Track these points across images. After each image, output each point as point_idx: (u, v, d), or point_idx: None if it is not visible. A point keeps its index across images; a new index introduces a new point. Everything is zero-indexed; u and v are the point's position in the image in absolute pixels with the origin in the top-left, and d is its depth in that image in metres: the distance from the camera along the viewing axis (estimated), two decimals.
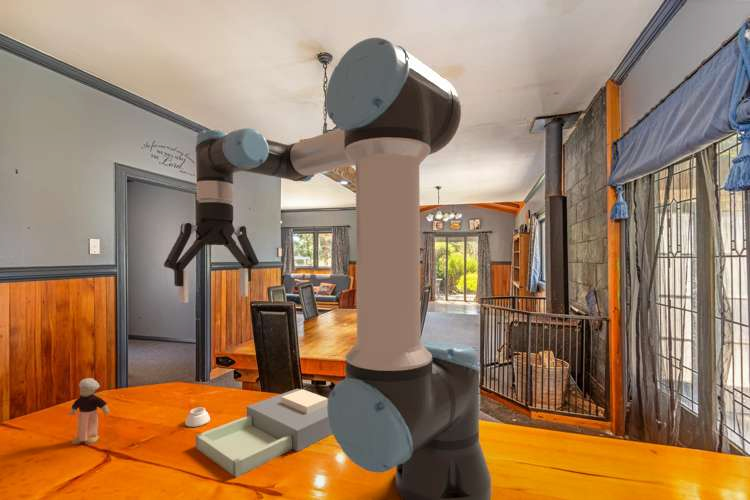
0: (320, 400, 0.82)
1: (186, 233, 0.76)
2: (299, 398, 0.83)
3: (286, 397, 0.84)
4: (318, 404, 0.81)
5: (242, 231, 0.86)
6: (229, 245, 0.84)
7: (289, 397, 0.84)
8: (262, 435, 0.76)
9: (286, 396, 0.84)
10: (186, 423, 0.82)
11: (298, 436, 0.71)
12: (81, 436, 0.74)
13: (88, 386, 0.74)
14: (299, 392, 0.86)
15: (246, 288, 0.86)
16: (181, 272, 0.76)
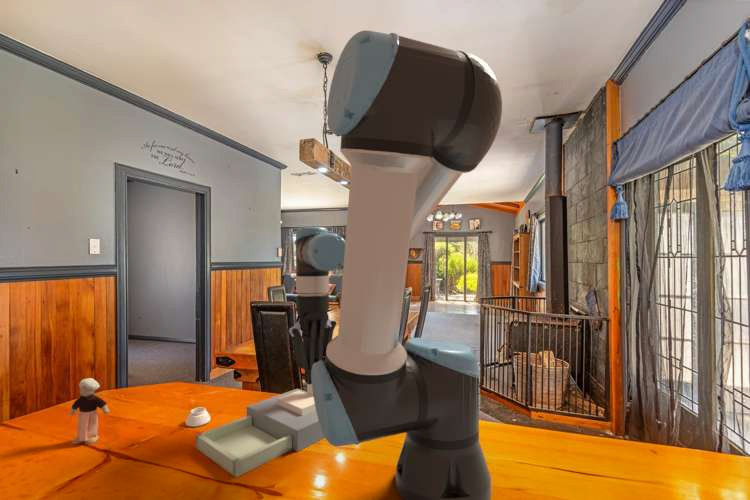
0: None
1: (298, 338, 0.81)
2: (295, 400, 0.82)
3: (282, 398, 0.83)
4: (313, 405, 0.80)
5: (332, 325, 0.89)
6: (316, 336, 0.86)
7: (285, 398, 0.83)
8: (262, 435, 0.76)
9: (282, 398, 0.83)
10: (186, 423, 0.82)
11: (298, 436, 0.71)
12: (81, 436, 0.74)
13: (88, 386, 0.74)
14: (295, 393, 0.86)
15: None
16: None
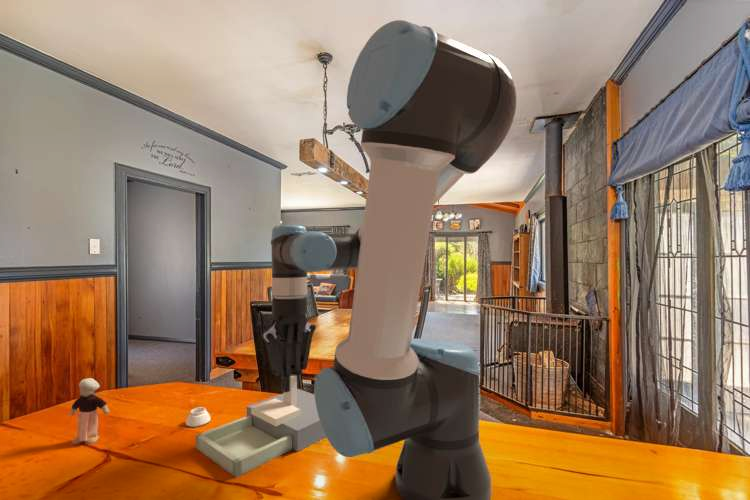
0: (291, 411, 0.76)
1: (273, 343, 0.76)
2: (269, 409, 0.77)
3: (256, 407, 0.78)
4: (289, 415, 0.75)
5: (311, 329, 0.84)
6: (293, 341, 0.81)
7: (259, 407, 0.78)
8: (262, 435, 0.76)
9: (256, 407, 0.78)
10: (187, 423, 0.82)
11: (298, 436, 0.71)
12: (81, 436, 0.74)
13: (88, 386, 0.74)
14: (271, 402, 0.81)
15: (295, 397, 0.80)
16: (288, 378, 0.79)
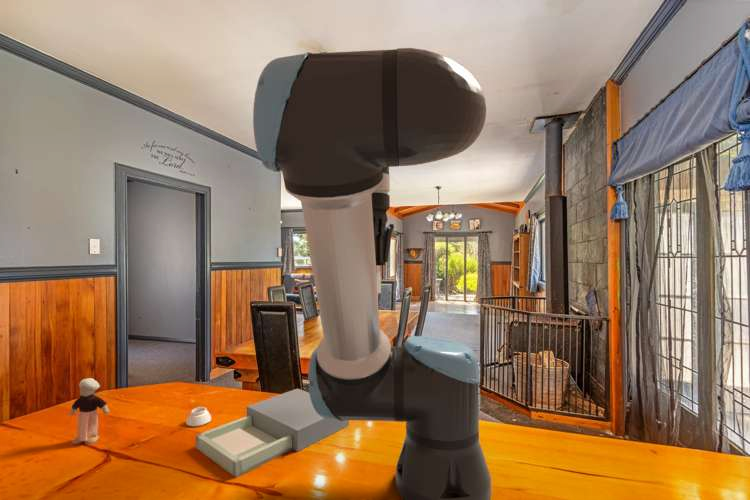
0: None
1: None
2: None
3: None
4: None
5: (390, 227, 0.91)
6: (377, 235, 0.88)
7: None
8: (262, 435, 0.76)
9: None
10: (187, 423, 0.82)
11: (298, 436, 0.71)
12: (81, 436, 0.74)
13: (89, 386, 0.74)
14: None
15: (379, 285, 0.87)
16: None
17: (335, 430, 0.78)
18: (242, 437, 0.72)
